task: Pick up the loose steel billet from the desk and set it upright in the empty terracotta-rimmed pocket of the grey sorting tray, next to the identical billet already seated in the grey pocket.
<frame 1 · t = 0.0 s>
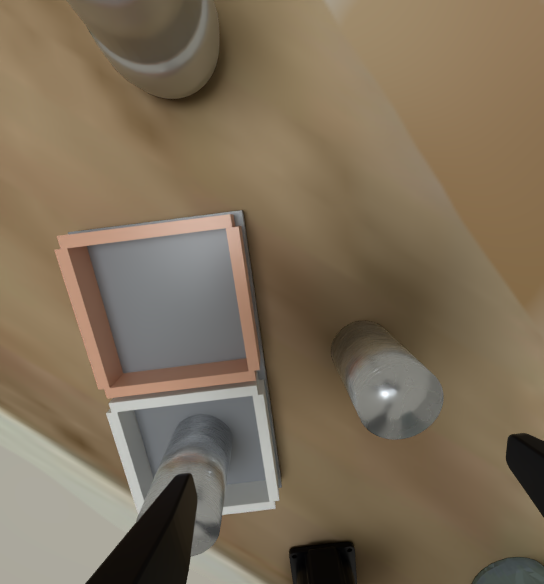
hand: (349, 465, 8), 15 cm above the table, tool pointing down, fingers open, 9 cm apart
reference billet: (202, 439, 24), point 1 cm above the table, touching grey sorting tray
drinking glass: (509, 581, 31), on the table
plastic bottle: (172, 53, 18), on the table
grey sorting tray: (192, 370, 23), on the table
steel billet: (361, 349, 23), on the table
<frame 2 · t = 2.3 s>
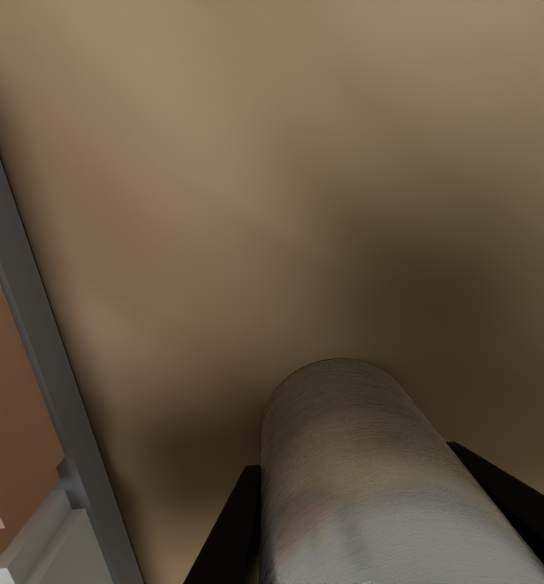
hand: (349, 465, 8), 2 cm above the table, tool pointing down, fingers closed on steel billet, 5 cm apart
steel billet: (336, 426, 10), on the table, touching gripper
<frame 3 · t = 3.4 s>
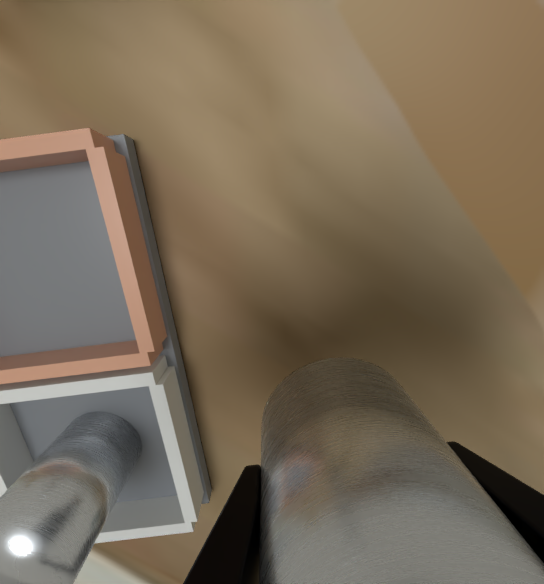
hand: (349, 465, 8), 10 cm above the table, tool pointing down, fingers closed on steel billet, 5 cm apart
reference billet: (103, 443, 19), point 1 cm above the table, touching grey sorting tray
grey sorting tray: (86, 355, 18), on the table
steel billet: (336, 425, 10), point 9 cm above the table, touching gripper
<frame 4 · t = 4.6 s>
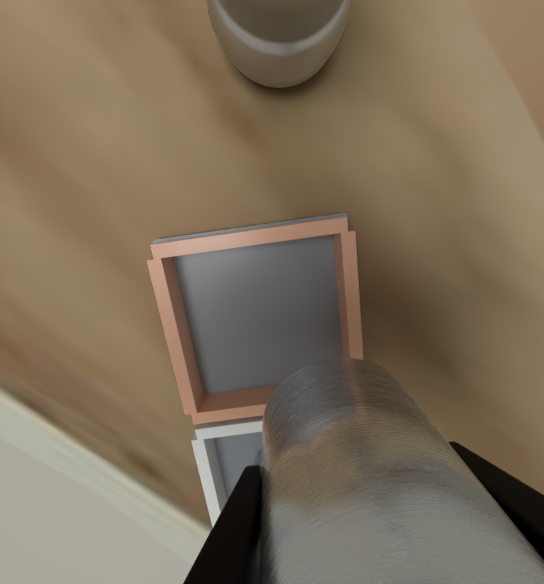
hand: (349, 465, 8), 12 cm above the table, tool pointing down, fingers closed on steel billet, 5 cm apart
plastic bottle: (275, 37, 16), on the table
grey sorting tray: (275, 389, 21), on the table
steel billet: (337, 425, 10), point 11 cm above the table, touching gripper
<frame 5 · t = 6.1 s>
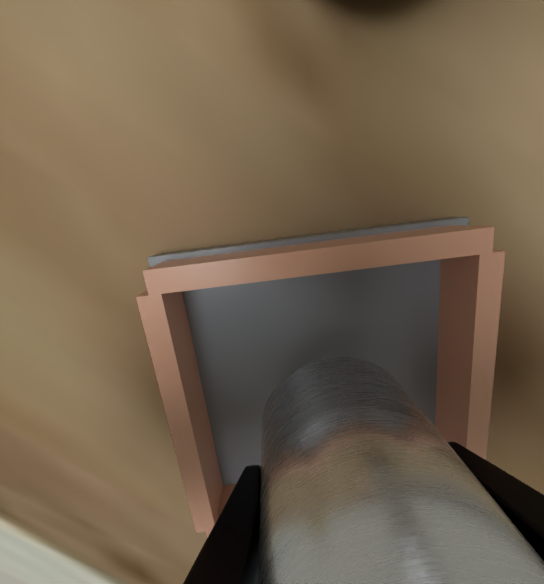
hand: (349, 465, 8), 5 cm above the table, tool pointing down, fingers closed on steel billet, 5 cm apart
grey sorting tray: (325, 471, 15), on the table
steel billet: (336, 425, 9), point 4 cm above the table, touching gripper
when the fingers open (4 cm above the table, at t = 7.2 s): steel billet drops 1 cm, resting on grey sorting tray.
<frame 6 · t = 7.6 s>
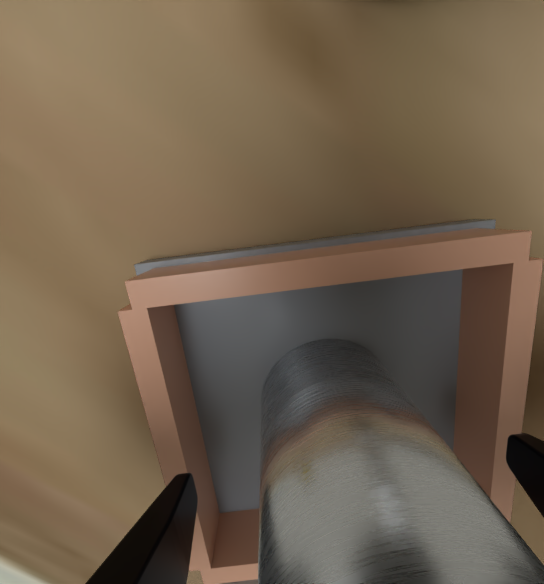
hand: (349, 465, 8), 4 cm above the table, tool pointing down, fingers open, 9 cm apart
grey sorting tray: (331, 495, 13), on the table
steel billet: (326, 398, 11), point 1 cm above the table, touching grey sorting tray
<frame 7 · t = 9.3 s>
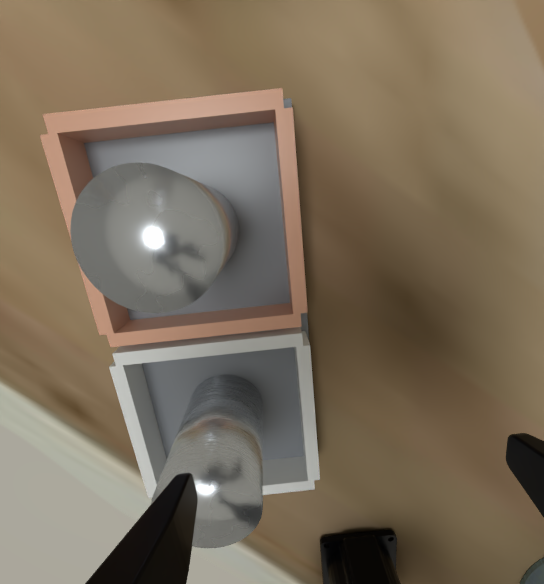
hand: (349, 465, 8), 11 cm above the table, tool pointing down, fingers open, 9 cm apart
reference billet: (226, 406, 20), point 1 cm above the table, touching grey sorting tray
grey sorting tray: (215, 320, 19), on the table
steel billet: (195, 229, 16), point 1 cm above the table, touching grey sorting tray
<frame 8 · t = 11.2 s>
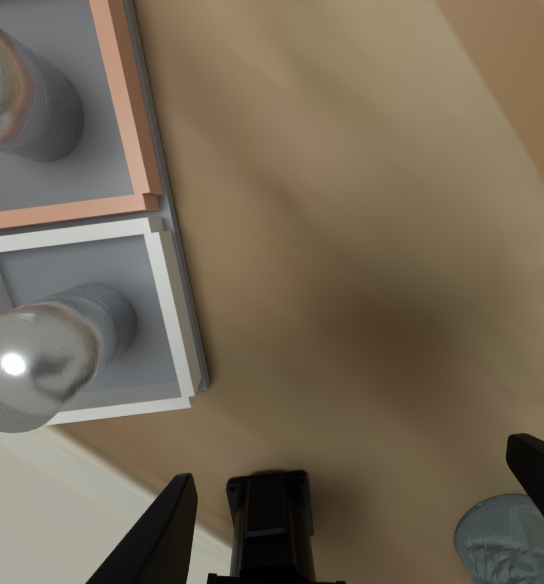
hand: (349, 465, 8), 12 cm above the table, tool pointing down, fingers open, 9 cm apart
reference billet: (98, 320, 18), point 1 cm above the table, touching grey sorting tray
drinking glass: (502, 527, 25), on the table
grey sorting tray: (80, 225, 18), on the table
steel billet: (36, 111, 15), point 1 cm above the table, touching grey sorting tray
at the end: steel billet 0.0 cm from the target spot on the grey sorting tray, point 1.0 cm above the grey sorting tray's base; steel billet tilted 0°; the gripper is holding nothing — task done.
